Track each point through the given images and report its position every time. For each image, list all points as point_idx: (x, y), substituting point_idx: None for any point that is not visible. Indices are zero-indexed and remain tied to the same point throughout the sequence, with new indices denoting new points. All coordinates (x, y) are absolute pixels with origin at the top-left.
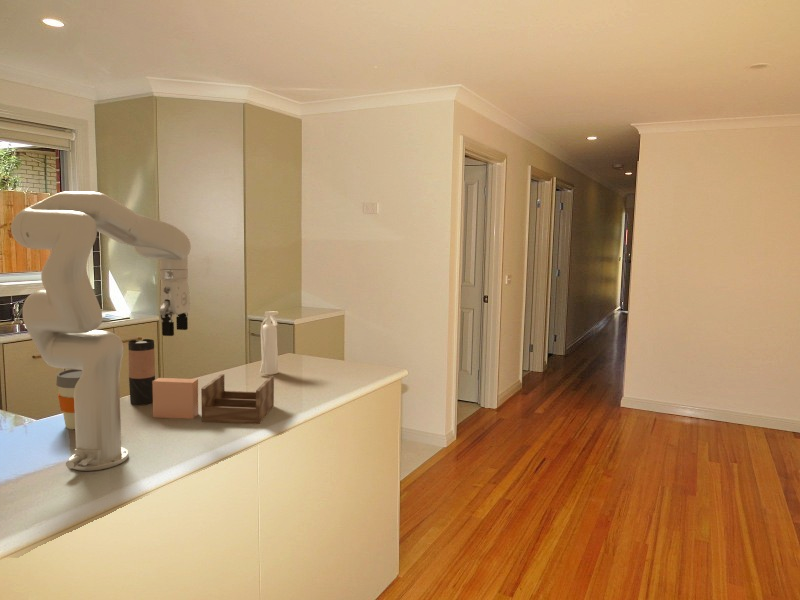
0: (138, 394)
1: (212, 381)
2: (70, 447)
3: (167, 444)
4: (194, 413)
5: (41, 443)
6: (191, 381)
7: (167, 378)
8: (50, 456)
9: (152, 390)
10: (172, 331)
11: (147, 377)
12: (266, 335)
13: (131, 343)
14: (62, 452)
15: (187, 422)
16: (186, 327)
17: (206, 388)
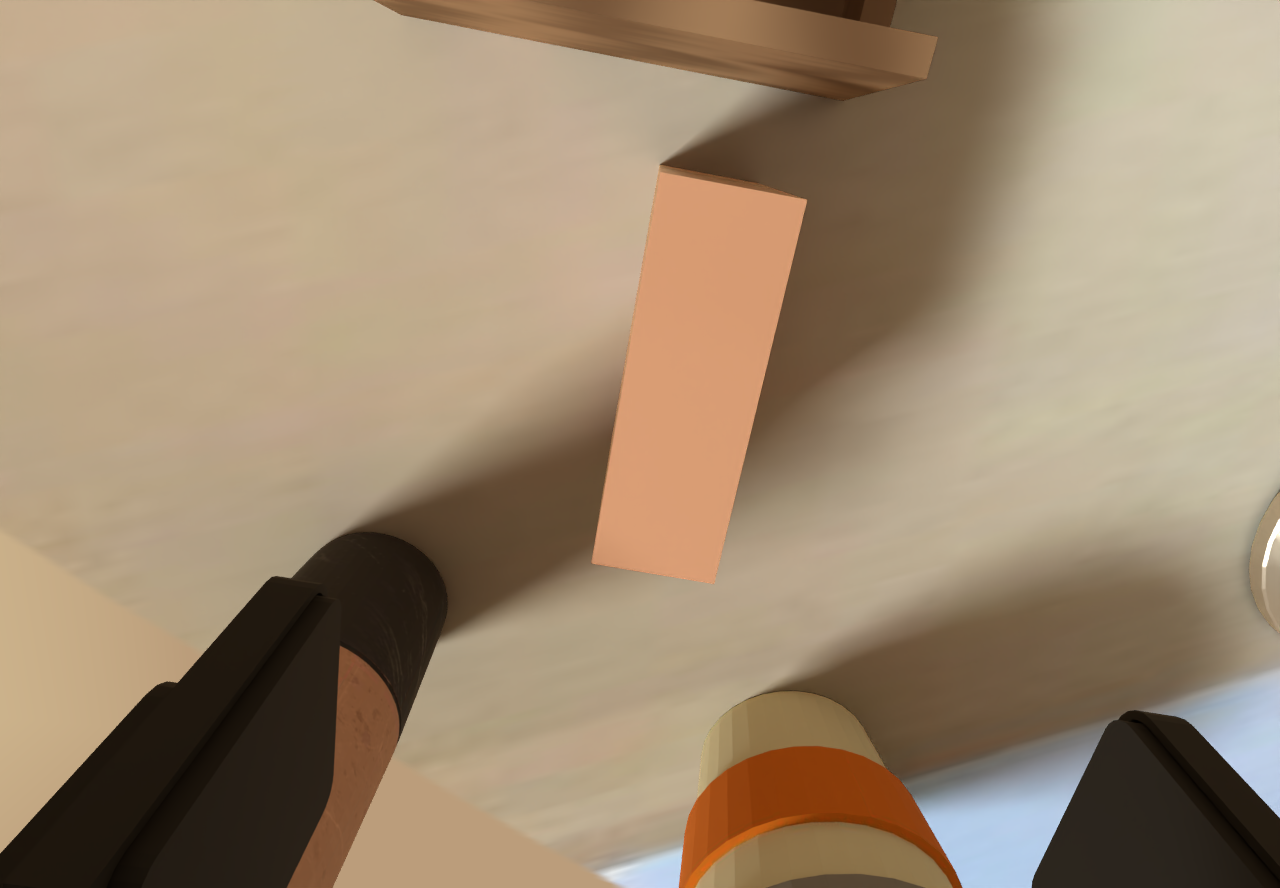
0: (430, 641)
1: (637, 2)
2: (1137, 710)
3: (1260, 242)
4: (734, 179)
5: (1041, 832)
6: (754, 224)
7: (616, 484)
8: (1236, 747)
9: (364, 577)
10: (1245, 804)
11: (367, 666)
12: None
13: None
14: (1198, 720)
15: (840, 206)
16: (308, 620)
17: (883, 29)
